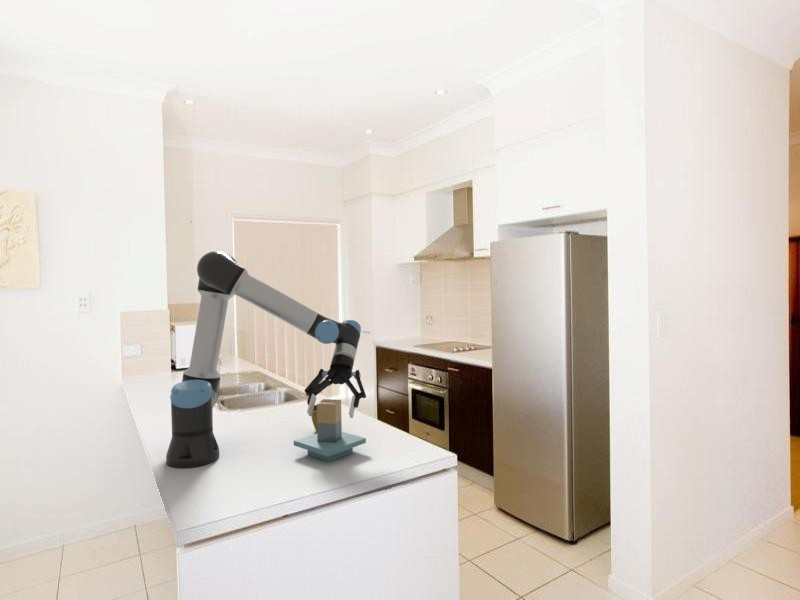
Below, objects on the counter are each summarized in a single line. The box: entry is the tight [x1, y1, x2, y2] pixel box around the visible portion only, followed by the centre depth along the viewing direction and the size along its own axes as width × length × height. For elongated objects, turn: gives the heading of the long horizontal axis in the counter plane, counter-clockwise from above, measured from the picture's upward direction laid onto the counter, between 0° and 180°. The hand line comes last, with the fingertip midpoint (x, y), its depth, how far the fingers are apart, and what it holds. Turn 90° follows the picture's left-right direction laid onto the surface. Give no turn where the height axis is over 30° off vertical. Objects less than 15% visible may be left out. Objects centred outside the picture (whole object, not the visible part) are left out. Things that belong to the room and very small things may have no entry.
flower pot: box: [310, 404, 317, 433], centre depth 182 cm, size 9×9×9 cm
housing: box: [316, 398, 343, 443], centre depth 159 cm, size 6×6×12 cm
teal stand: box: [293, 431, 367, 462], centre depth 159 cm, size 16×16×4 cm
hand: (329, 415), depth 158 cm, fingers open, 13 cm apart
